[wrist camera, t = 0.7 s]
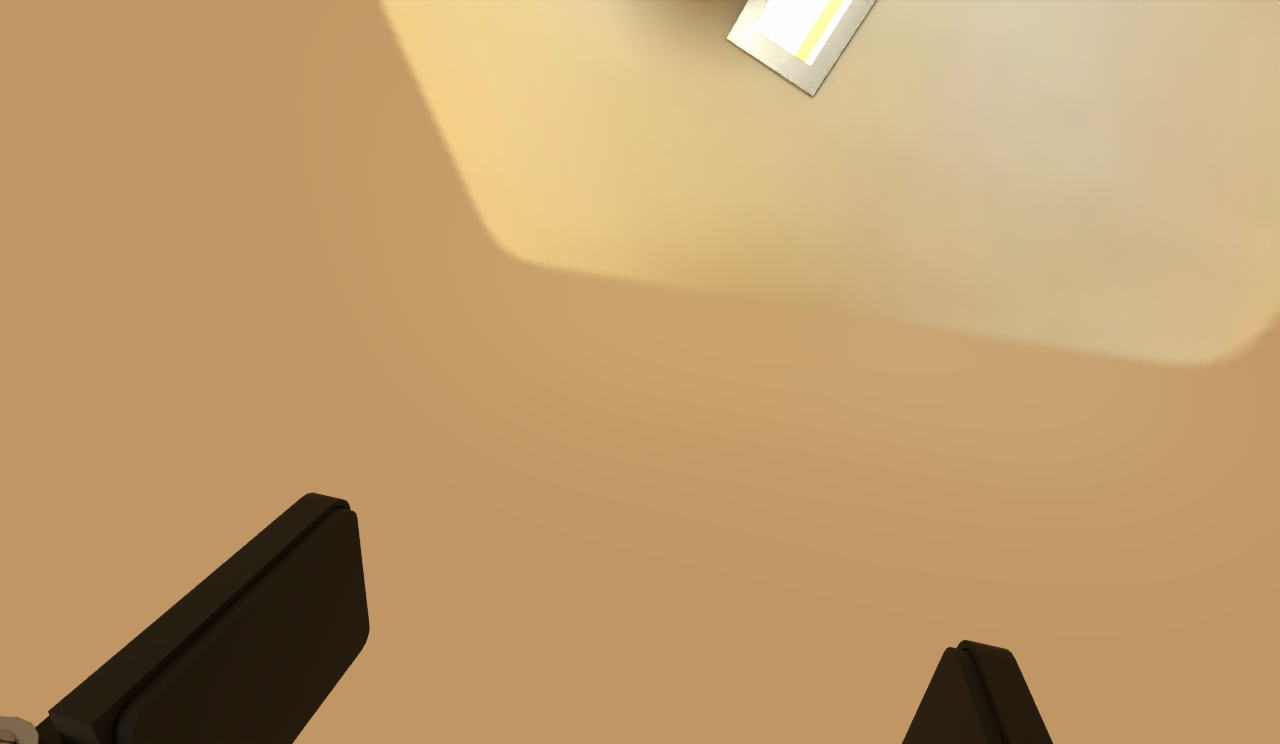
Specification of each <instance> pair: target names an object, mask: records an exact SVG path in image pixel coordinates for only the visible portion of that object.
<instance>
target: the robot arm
mask: <svg viewBox="0 0 1280 744" xmlns="http://www.w3.org/2000/svg"><path fill="white" fill-rule="evenodd" d="M362 565H363V564H362V555H361V546H360V538H359V529H358V520H357V515H356V513H355V512H354V511H351V510H350V506H349V504H348V502H347V501H346V500H343V499H339V498H334V497H330V496H325V495H321V494H316V493H309V494H306V495H305V496H303V497H302V498H300V499H299V500H298V501H297V502H296V503H295V504H294V505H292V506H291V507H290V508H289V509H287V510H286V511H285V512H284V513H283V514H282V515H280V516H279V517H278V518H277V519H276V520H274V521H273V522H272V523H271V524H270V525H269V526H267V527H266V528H265V529H264V530H263V531H261V532H260V533H259V534H258V535H257V536H256V537H254V538H253V539H252V540H251V541H249V542H248V543H247V544H246V545H245V546H244V547H242V548H241V549H240V550H239V551H238V552H236V553H235V554H234V555H233V556H232V557H231V558H229V559H228V560H227V561H226V562H225V563H223V564H222V565H221V566H220V567H219V568H217V569H216V570H215V571H214V572H213V573H212V574H210V575H209V576H208V577H207V578H206V579H205V580H203V581H202V582H201V583H200V584H199V585H197V586H196V587H195V588H194V589H193V590H191V591H190V592H189V593H188V594H187V595H185V596H184V597H183V598H182V599H181V600H180V601H178V602H177V603H176V604H175V605H174V606H172V607H171V608H170V609H169V610H168V611H166V612H165V613H164V614H163V615H162V616H161V617H160V618H158V619H157V620H156V621H155V622H154V623H152V624H151V625H150V626H149V627H148V628H146V629H145V630H144V631H143V632H142V633H140V634H139V635H138V636H137V637H136V638H134V639H133V640H132V641H131V642H130V643H129V644H127V645H126V646H125V647H124V648H123V649H121V650H120V651H119V652H118V653H117V654H116V655H114V656H113V657H112V658H111V659H110V660H108V661H107V662H106V663H105V664H104V665H102V666H101V667H100V668H99V669H98V670H97V671H95V672H94V673H93V674H92V675H91V676H89V677H88V678H87V679H86V680H85V681H84V682H82V683H81V684H80V685H79V686H78V687H76V688H75V689H74V690H73V691H72V692H71V693H69V694H68V695H67V696H66V697H65V698H63V699H62V700H61V701H60V702H59V703H58V704H56V705H55V706H54V707H53V708H52V709H50V710H49V711H48V713H49V716H48V717H47V718H46V719H45V720H44V721H43V722H41V723H40V724H39V725H38V726H37V727H34V726H33V724H32V723H30V722H28V721H26V720H24V719H21V718H19V717H1V716H0V744H292V743H293V742H294V740H295V739H296V738H297V736H298V735H299V734H300V732H301V731H302V730H303V728H304V727H305V726H306V724H307V723H308V722H309V720H310V719H311V717H312V716H313V715H314V714H315V712H316V711H317V710H318V708H319V707H320V705H321V704H322V703H323V701H324V700H325V699H326V697H327V696H328V695H329V693H330V692H331V691H332V689H333V688H334V686H335V685H336V684H337V682H338V681H339V680H340V679H341V677H342V676H343V675H344V673H345V672H346V671H347V669H348V668H349V666H350V665H351V664H352V662H353V661H354V660H355V658H356V657H357V656H358V654H359V653H360V652H361V650H362V649H363V647H364V645H365V643H366V641H367V638H368V634H369V617H368V609H367V600H366V591H365V583H364V573H363V566H362ZM902 744H1053V742H1052V740H1051V738H1050V736H1049V734H1048V731H1047V729H1046V727H1045V724H1044V722H1043V720H1042V718H1041V715H1040V713H1039V711H1038V709H1037V707H1036V704H1035V702H1034V700H1033V697H1032V695H1031V693H1030V691H1029V689H1028V686H1027V684H1026V682H1025V680H1024V677H1023V675H1022V673H1021V671H1020V668H1019V666H1018V664H1017V662H1016V660H1015V658H1014V657H1013V655H1012V653H1011V652H1010V651H1009V650H1007V649H1004V648H999V647H995V646H990V645H986V644H981V643H977V642H973V641H968V640H963V641H962V642H960V643H959V645H958V647H957V648H952V647H949V648H947V649H946V650H945V652H944V653H943V656H942V658H941V660H940V662H939V664H938V666H937V668H936V671H935V673H934V675H933V677H932V679H931V682H930V684H929V686H928V688H927V691H926V693H925V695H924V697H923V699H922V701H921V703H920V705H919V708H918V710H917V712H916V715H915V717H914V719H913V721H912V723H911V725H910V727H909V730H908V732H907V734H906V736H905V738H904V740H903V743H902Z"/></svg>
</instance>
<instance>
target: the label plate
mask: <svg viewBox="0 0 1280 744" xmlns="http://www.w3.org/2000/svg"><path fill="white" fill-rule="evenodd" d="M874 2H875V0H748V2H747V4H746V5H745V7H744V9H743V11H742V12H741V14H740V16H739V18H738V19H737V21H736V23H735V25H734V27H733V28H732V30H731V32H730V34H729V35H728V37H727V40H729V41H730V42H732V43H733V44H735V45H736V46H738V47H739V48H741V49H742V50H744V51H745V52H747V53H748V54H750V55H751V56H753V57H754V58H756V59H757V60H759V61H760V62H762V63H763V64H765V65H766V66H768V67H769V68H771V69H772V70H774V71H775V72H777V73H778V74H780V75H781V76H783V77H784V78H786V79H787V80H789V81H790V82H792V83H793V84H795V85H796V86H798V87H799V88H801V89H802V90H804V91H805V92H807V93H808V94H810V95H811V96H813V95H814V94H815V92H816V91H817V89H818V87H819V86H820V84H821V83H822V81H823V80H824V78H825V77H826V75H827V74H828V72H829V71H830V69H831V68H832V66H833V65H834V63H835V62H836V60H837V58H838V57H839V55H840V54H841V52H842V51H843V49H844V48H845V46H846V45H847V43H848V42H849V40H850V39H851V37H852V36H853V34H854V32H855V31H856V29H857V28H858V26H859V25H860V23H861V22H862V20H863V19H864V17H865V16H866V14H867V13H868V11H869V10H870V8H871V7H872V5H873V3H874Z"/></svg>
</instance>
